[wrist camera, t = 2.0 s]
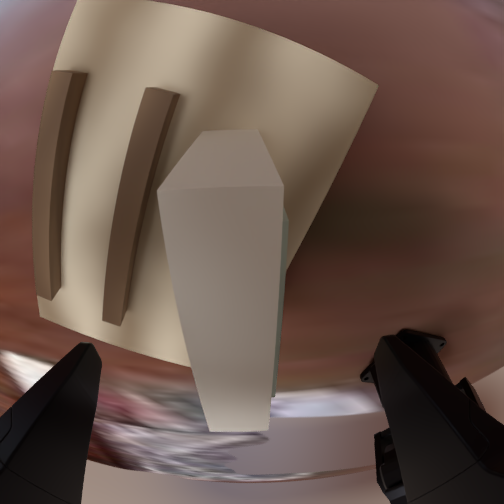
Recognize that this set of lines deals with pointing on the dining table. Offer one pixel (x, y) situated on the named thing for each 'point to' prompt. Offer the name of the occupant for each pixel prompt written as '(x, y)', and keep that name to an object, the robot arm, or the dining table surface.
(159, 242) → the display stand
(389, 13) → the dining table surface
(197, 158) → the white block
